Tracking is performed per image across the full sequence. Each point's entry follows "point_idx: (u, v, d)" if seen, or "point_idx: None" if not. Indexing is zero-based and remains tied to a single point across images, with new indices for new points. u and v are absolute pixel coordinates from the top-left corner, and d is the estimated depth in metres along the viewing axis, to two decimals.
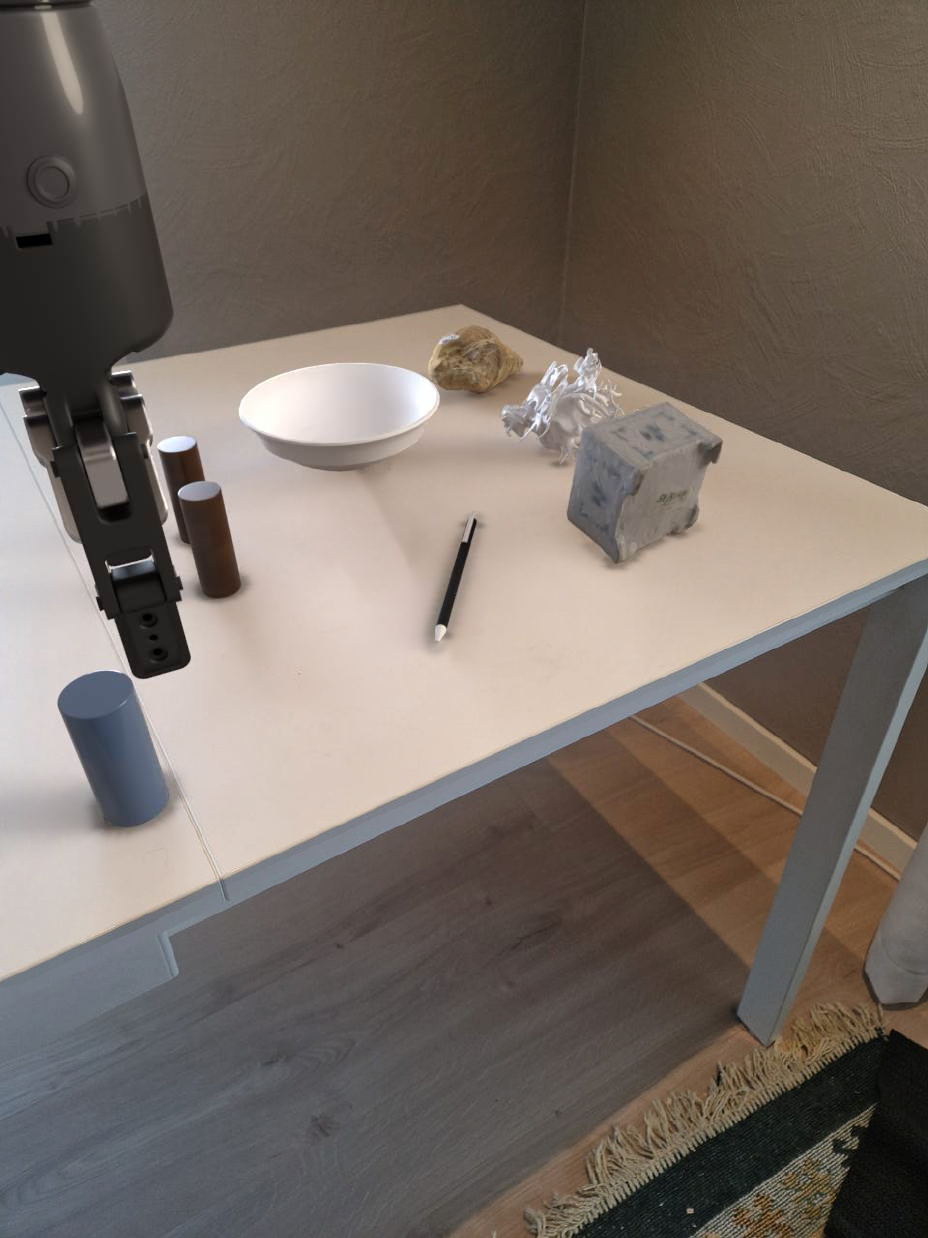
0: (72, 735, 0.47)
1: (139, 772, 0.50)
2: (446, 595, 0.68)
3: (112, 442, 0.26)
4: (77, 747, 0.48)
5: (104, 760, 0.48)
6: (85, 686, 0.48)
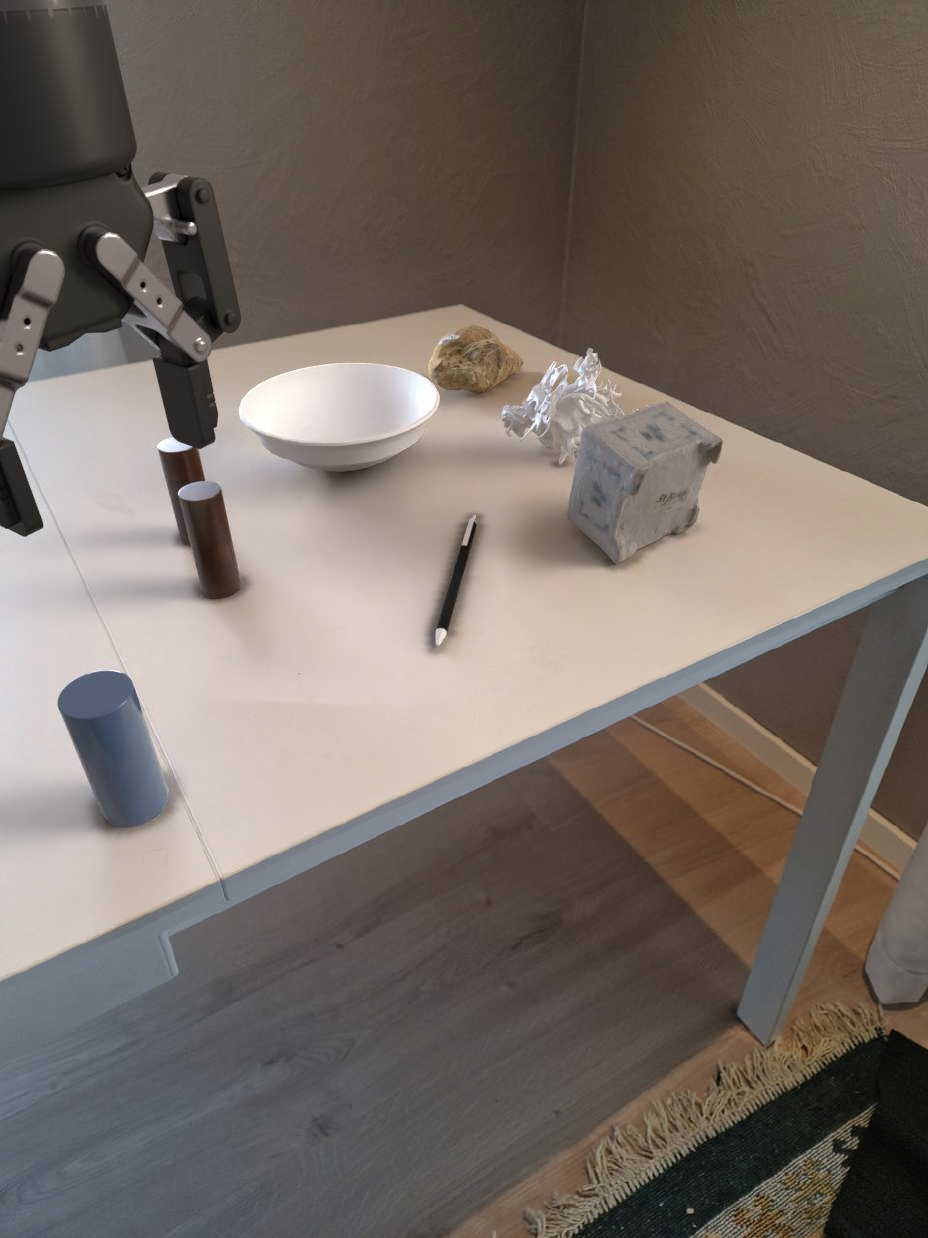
0: (72, 735, 0.47)
1: (139, 772, 0.50)
2: (446, 598, 0.68)
3: None
4: (77, 747, 0.48)
5: (104, 760, 0.48)
6: (85, 686, 0.48)
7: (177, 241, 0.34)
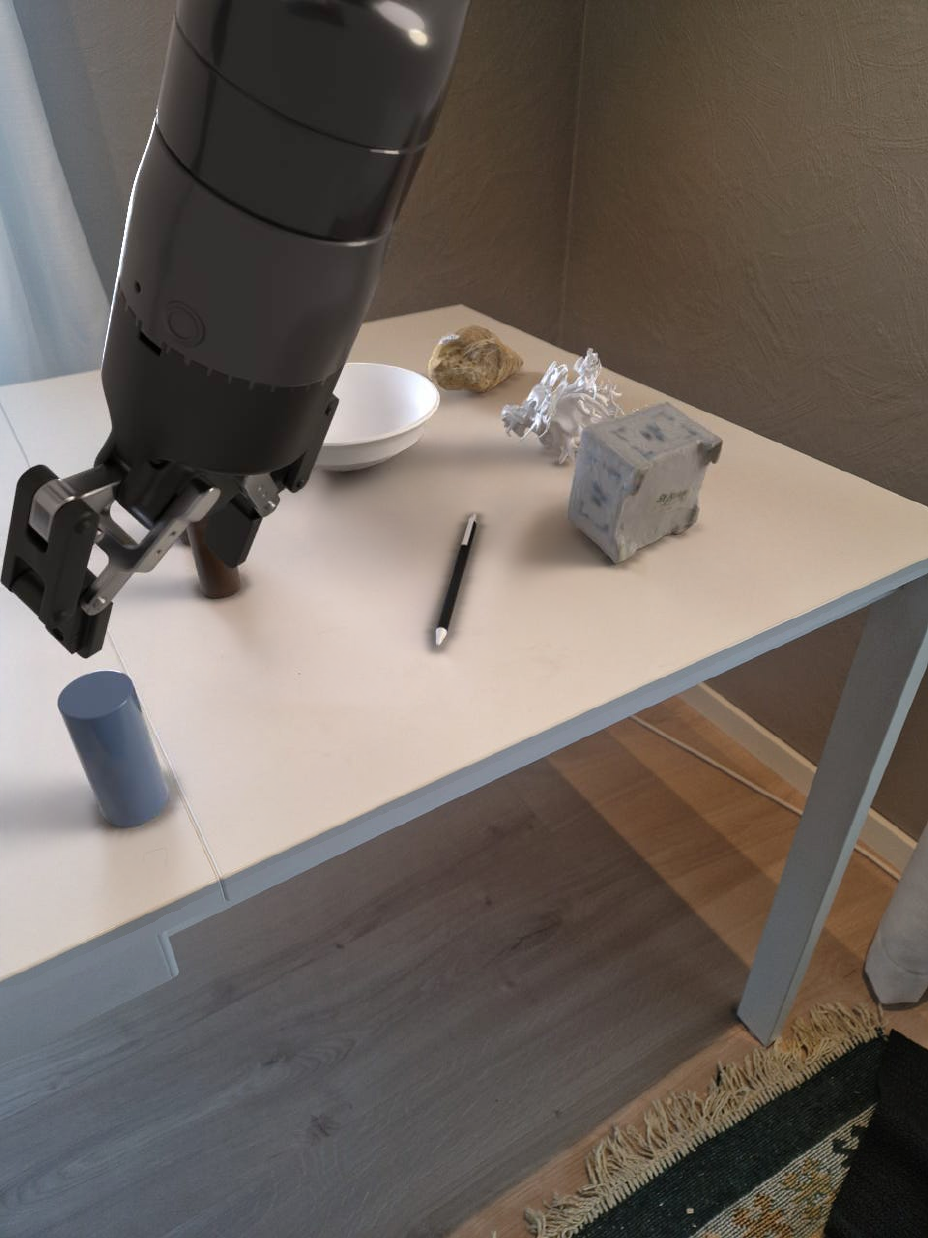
0: (72, 735, 0.47)
1: (139, 772, 0.50)
2: (446, 598, 0.68)
3: (64, 503, 0.27)
4: (77, 747, 0.48)
5: (104, 760, 0.48)
6: (85, 686, 0.48)
7: None
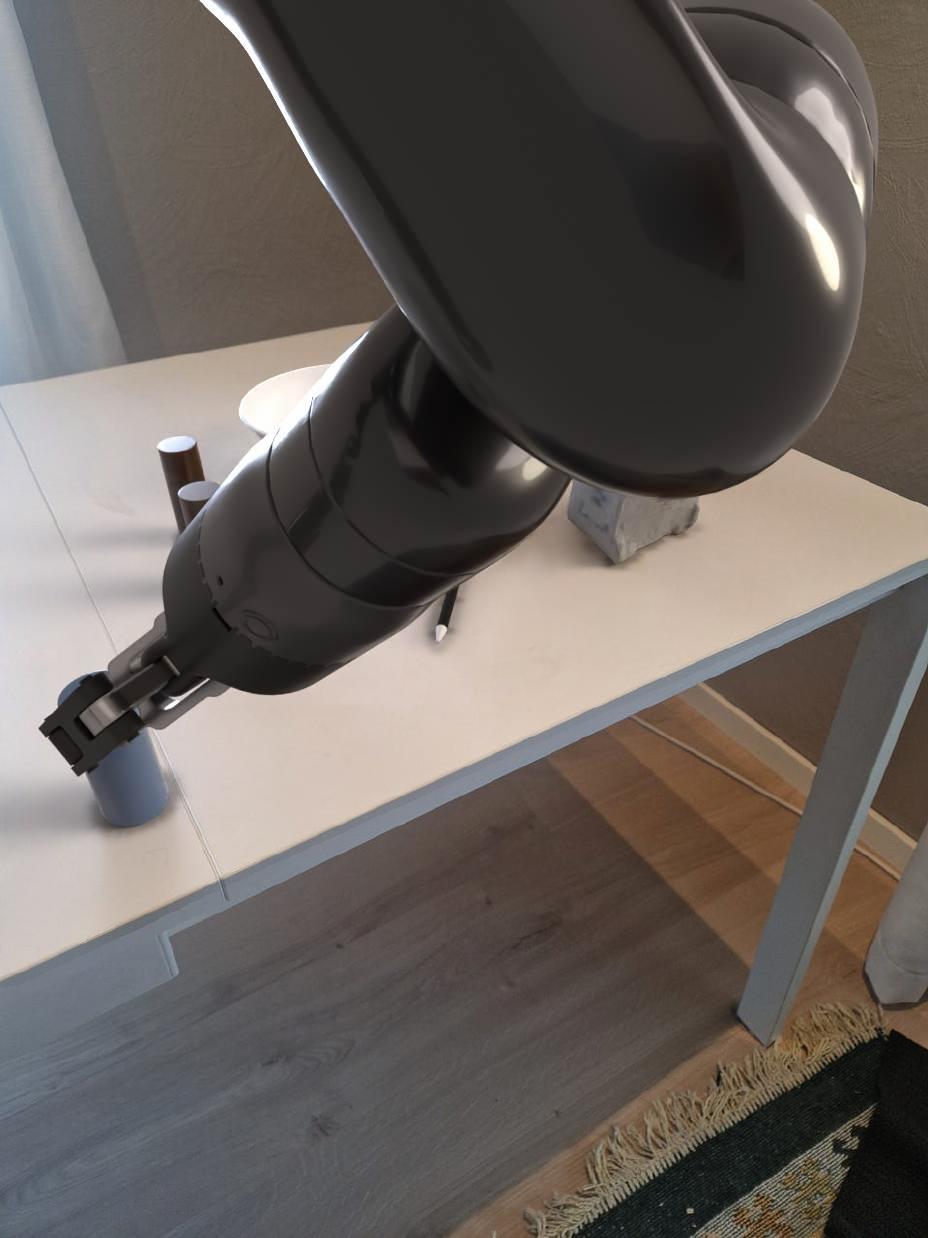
0: None
1: (139, 772, 0.50)
2: (446, 595, 0.68)
3: (116, 718, 0.30)
4: None
5: (104, 760, 0.48)
6: None
7: None
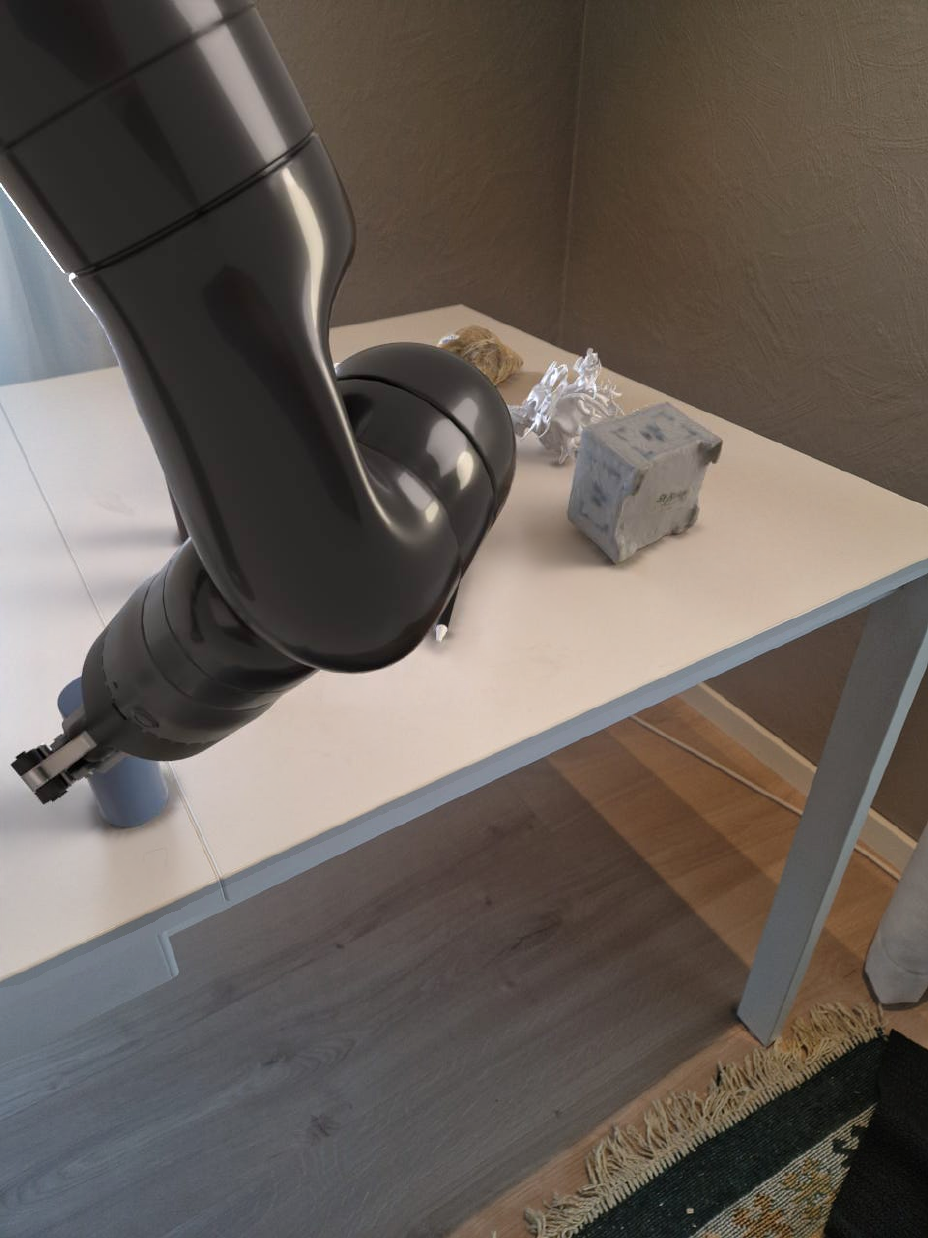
0: None
1: (139, 772, 0.50)
2: None
3: (38, 788, 0.40)
4: None
5: None
6: None
7: None
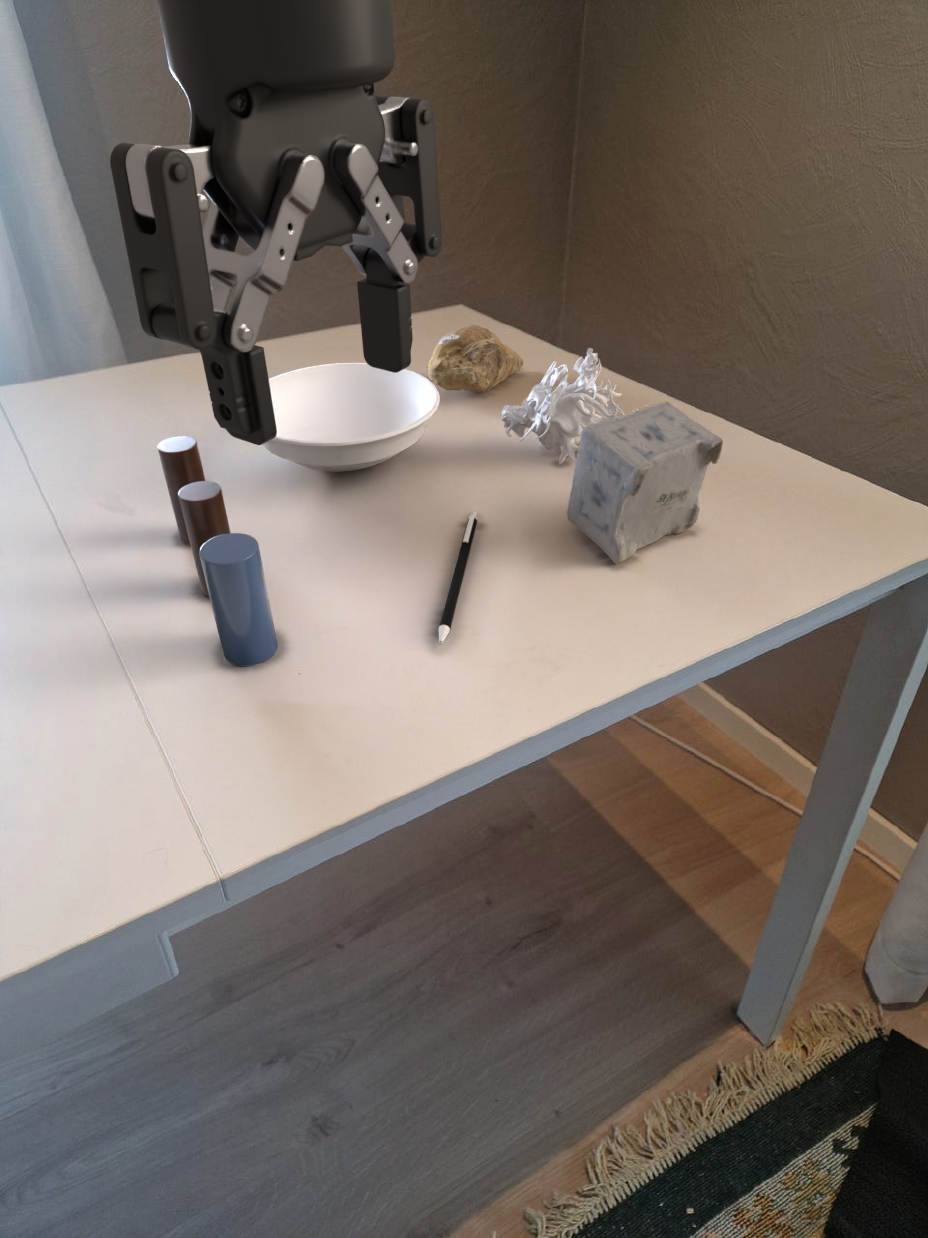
0: (211, 581, 0.59)
1: (260, 616, 0.61)
2: (449, 595, 0.68)
3: (151, 149, 0.26)
4: (213, 592, 0.60)
5: (235, 603, 0.60)
6: (219, 543, 0.60)
7: (396, 162, 0.35)
